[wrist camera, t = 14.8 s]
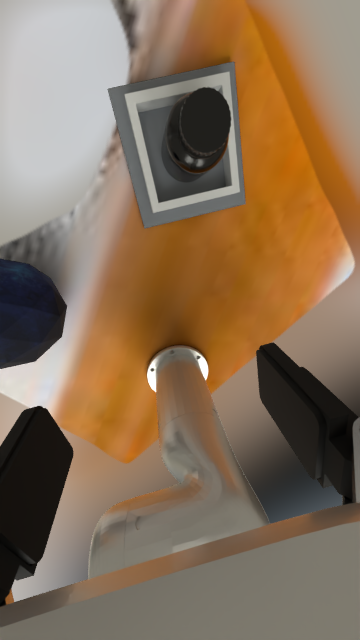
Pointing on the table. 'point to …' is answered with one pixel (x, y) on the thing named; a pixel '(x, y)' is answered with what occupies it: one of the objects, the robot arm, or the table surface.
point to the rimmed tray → (146, 141)
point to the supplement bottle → (196, 134)
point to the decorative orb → (27, 313)
